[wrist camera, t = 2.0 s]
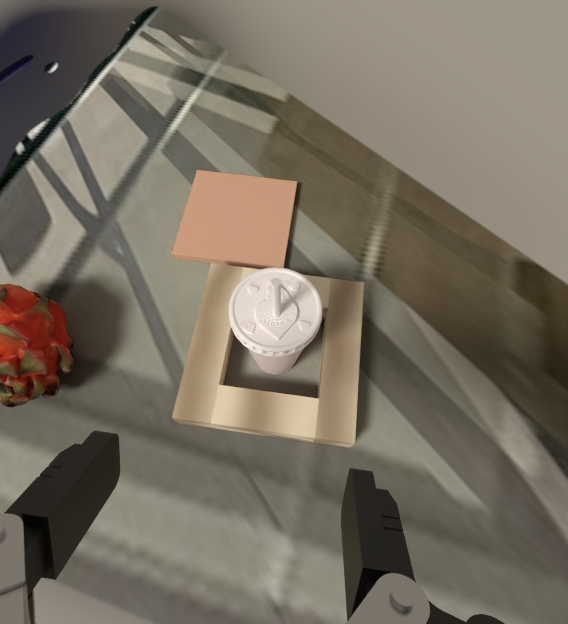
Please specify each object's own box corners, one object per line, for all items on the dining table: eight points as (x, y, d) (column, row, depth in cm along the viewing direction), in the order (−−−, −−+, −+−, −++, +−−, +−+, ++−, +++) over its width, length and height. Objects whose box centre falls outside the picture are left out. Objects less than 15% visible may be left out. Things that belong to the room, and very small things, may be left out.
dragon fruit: (65, 428, 34) (28, 330, 39) (115, 359, 31) (68, 265, 37) (-61, 443, 27) (-84, 320, 32) (-9, 355, 24) (-44, 239, 30)
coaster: (296, 186, 43) (297, 181, 43) (283, 272, 39) (283, 267, 38) (198, 175, 44) (197, 169, 43) (173, 258, 39) (171, 253, 39)
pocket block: (358, 295, 38) (364, 282, 36) (349, 447, 32) (355, 443, 30) (214, 276, 38) (211, 263, 36) (179, 423, 32) (172, 417, 30)
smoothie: (240, 392, 34) (219, 328, 21) (238, 323, 36) (218, 230, 24) (315, 387, 34) (338, 320, 21) (307, 319, 37) (324, 224, 24)
